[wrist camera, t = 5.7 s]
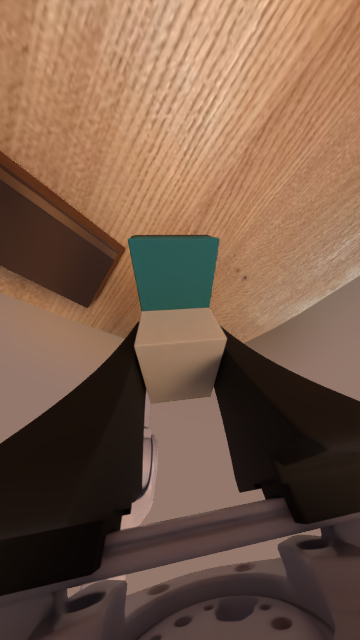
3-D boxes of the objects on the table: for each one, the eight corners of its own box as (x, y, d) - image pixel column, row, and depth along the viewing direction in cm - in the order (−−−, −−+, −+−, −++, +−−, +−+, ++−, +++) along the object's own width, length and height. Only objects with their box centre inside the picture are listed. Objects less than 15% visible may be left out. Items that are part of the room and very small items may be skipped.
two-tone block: (196, 339, 12) (214, 396, 8) (151, 342, 12) (146, 404, 8) (206, 234, 7) (262, 244, 3) (133, 235, 7) (95, 246, 3)
